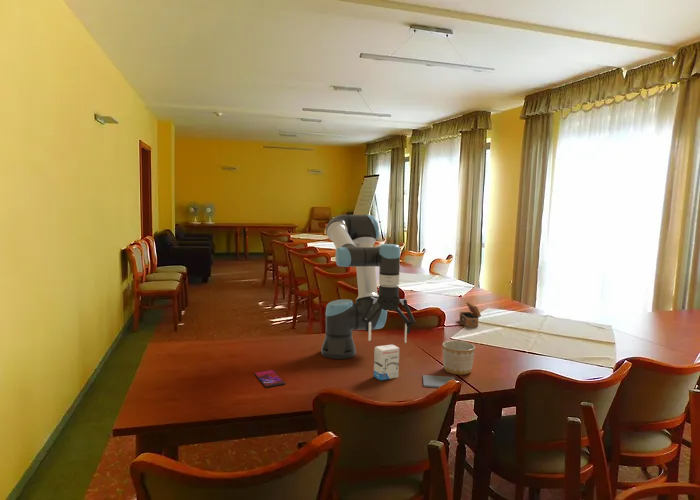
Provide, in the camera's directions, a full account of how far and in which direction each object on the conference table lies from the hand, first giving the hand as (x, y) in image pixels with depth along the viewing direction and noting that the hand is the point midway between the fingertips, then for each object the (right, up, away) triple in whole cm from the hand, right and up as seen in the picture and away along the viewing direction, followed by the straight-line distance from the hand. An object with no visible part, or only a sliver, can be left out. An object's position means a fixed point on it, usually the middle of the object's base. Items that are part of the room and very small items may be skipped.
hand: (387, 340), depth 176 cm
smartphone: (-44, -14, -3) cm, 47 cm away
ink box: (0, -14, +2) cm, 15 cm away
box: (+52, -7, +82) cm, 97 cm away
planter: (+29, -14, +10) cm, 34 cm away
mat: (+19, -15, -3) cm, 25 cm away
